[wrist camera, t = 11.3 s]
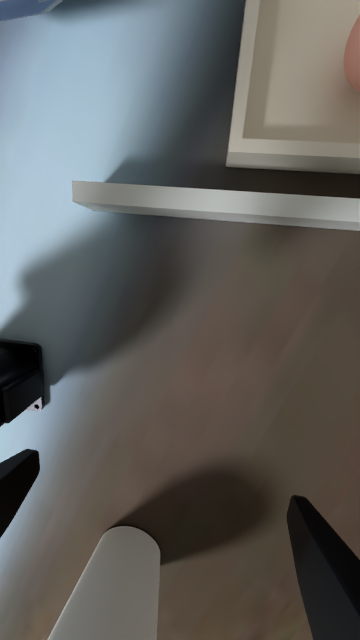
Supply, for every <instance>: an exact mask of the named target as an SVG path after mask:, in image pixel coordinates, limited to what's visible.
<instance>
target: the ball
mask: <svg viewBox="0 0 360 640" xmlns="http://www.w3.org/2000/svg"><path fill="white" fill-rule="evenodd" d="M344 72H345V76H346V78H347V81H348V82H349V84H350V85H351V86H352V87H353V88H354V89H355V90H357V91H359V92H360V15H359V17H358V18H357V20H356V22H355V24H354V26H353V28H352V30H351V32H350V35H349V37H348V40H347V44H346V47H345V52H344Z"/></svg>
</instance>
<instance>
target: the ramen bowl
mask: <svg viewBox="0 0 360 640" xmlns="http://www.w3.org/2000/svg"><path fill="white" fill-rule="evenodd" d="M62 1H63V0H0V22H2V21H7V20H12V19H17V18H22V17H28V16H33V15H38V14H43V13H48V12H49V11H51V10H52V9H53V8H54V7H56V6H57V5H58V4H59V3H61V2H62Z"/></svg>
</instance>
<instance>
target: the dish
mask: <svg viewBox="0 0 360 640" xmlns="http://www.w3.org/2000/svg"><path fill="white" fill-rule="evenodd" d="M359 15H360V0H245V7H244V15H243V24H242V32H241V40H240V49H239V57H238V66H237V74H236V83H235V91H234V100H233V108H232V116H231V125H230V133H229V142H228V150H227V159H226V167H238V168H256V169H275V170H293V171H311V172H330V173H348V174H360V92H359V91H357V90H355V89H354V88H353V87H352V86H351V85H350V84H349V82H348V81H347V78H346V76H345V72H344V52H345V47H346V44H347V40H348V37H349V35H350V32H351V30H352V28H353V26H354V24H355V22H356V20H357V18H358V17H359Z"/></svg>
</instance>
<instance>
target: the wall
mask: <svg viewBox="0 0 360 640" xmlns="http://www.w3.org/2000/svg"><path fill="white" fill-rule="evenodd" d="M72 192H73V202H75V203H77V204H79V205H82V206H84V207H86V208H89V209H91V210H93V211H102V212H115V213H129V214H142V215H155V216H169V217H182V218H196V219H209V220H223V221H236V222H249V223H263V224H276V225H290V226H303V227H317V228H330V229H344V230H357V231H360V199H356V198H340V197H324V196H308V195H293V194H277V193H261V192H245V191H229V190H213V189H197V188H182V187H166V186H150V185H134V184H118V183H102V182H86V181H72Z"/></svg>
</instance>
